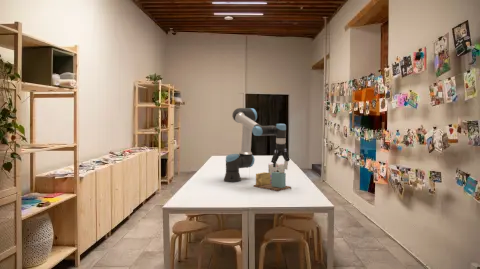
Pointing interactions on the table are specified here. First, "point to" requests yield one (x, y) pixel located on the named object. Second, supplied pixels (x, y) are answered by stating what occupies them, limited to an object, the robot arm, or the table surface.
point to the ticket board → (269, 186)
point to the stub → (278, 179)
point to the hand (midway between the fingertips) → (280, 170)
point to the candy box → (279, 169)
